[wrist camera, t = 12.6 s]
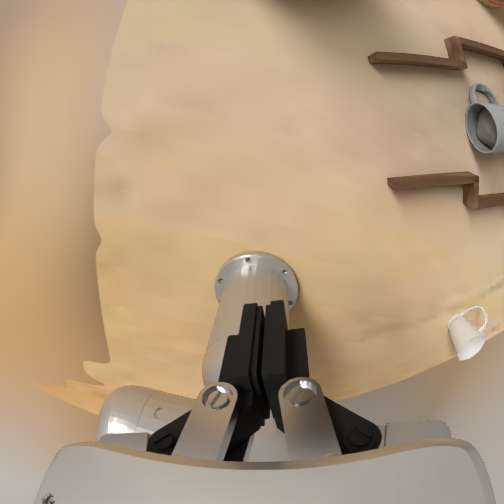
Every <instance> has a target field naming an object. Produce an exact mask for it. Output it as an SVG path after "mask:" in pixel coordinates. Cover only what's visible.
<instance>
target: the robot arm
mask: <svg viewBox="0 0 504 504" xmlns="http://www.w3.org/2000/svg"><path fill="white" fill-rule="evenodd" d="M248 258H250V259H248ZM215 294H216V297H217V300H218V302H219V307H218V311H217V314H216V318H215V321H214V325H213V328H212V332H211V335H210V339H209V342H208V346H207V349H206V353H205V357H204V360H203V365H202V377H203V382H204V386H205V388H204V389H202V390H201V392H200V393H199V395H198V397H197V399H192V398H188V397H183V396H179V395H175V394H171V393H167V392H163V391H159V390H155V389H151V388H146V387H142V386H134V385H130V386H123V387H120V388H117V389H116V390H114V391H113V392H112V393H110V394H109V396H108V397H107V398H106V400H105V401H104V403H103V405H102V408H101V410H100V413H99V418H98V424H97V442H79V443H73V444H69V445H66V446H65V447H63V448H62V449H61V450H60V451H59V452H58V453H57V454H56V456H55V457H54V459H53V461H52V462H51V464H50V466H49V468H48V470H47V472H46V474H45V476H44V478H43V481H42V483H41V485H40V488H39V490H38V493H37V496H36V499H35V501H34V504H496V502H495V497H494V493H493V489H492V485H491V481H490V478H489V475H488V472H487V469H486V467H485V464H484V462H483V460H482V458H481V456H480V454H479V452H478V451H477V450H476V448H475V447H474V446H473V445H472V444H471V443H469V442H467V441H464V440H461V439H455V438H451V433H450V429H449V426H448V425H447V424H446V423H445V422H443V421H441V420H427V421H417V422H403V423H387V424H386V426H376V425H375V424H374V423H372V422H370V421H368V420H366V419H364V418H363V417H361V416H358V415H357V414H355V413H353V412H351V411H349V410H348V409H346V408H344V407H342V406H341V405H339V404H337V403H335V402H334V401H332V400H330V399H328V398H327V397H325V396H323V392H322V389H321V387H320V385H319V383H317V382H316V381H315V380H313V379H311V378H309V368H308V357H307V347H306V338H305V329H304V328H300V329H292V330H289V311H290V310H291V309H292V307H293V306H294V304H295V302H296V300H297V295H298V284H297V279H296V277H295V274H294V272H293V271H292V269H291V268H290V267H289V266H288V265H287V264H286V263H285V262H284V261H282V260H281V259H279V258H278V257H275V256H273V255H271V254H267V253H263V252H249V253H243V254H240V255H237V256H235V257H233V258H231V259H230V260H229V261H227V262H226V263H225V264H224V265H223V266H222V268H221V269H220V271H219V273H218V275H217V278H216V281H215Z"/></svg>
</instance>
